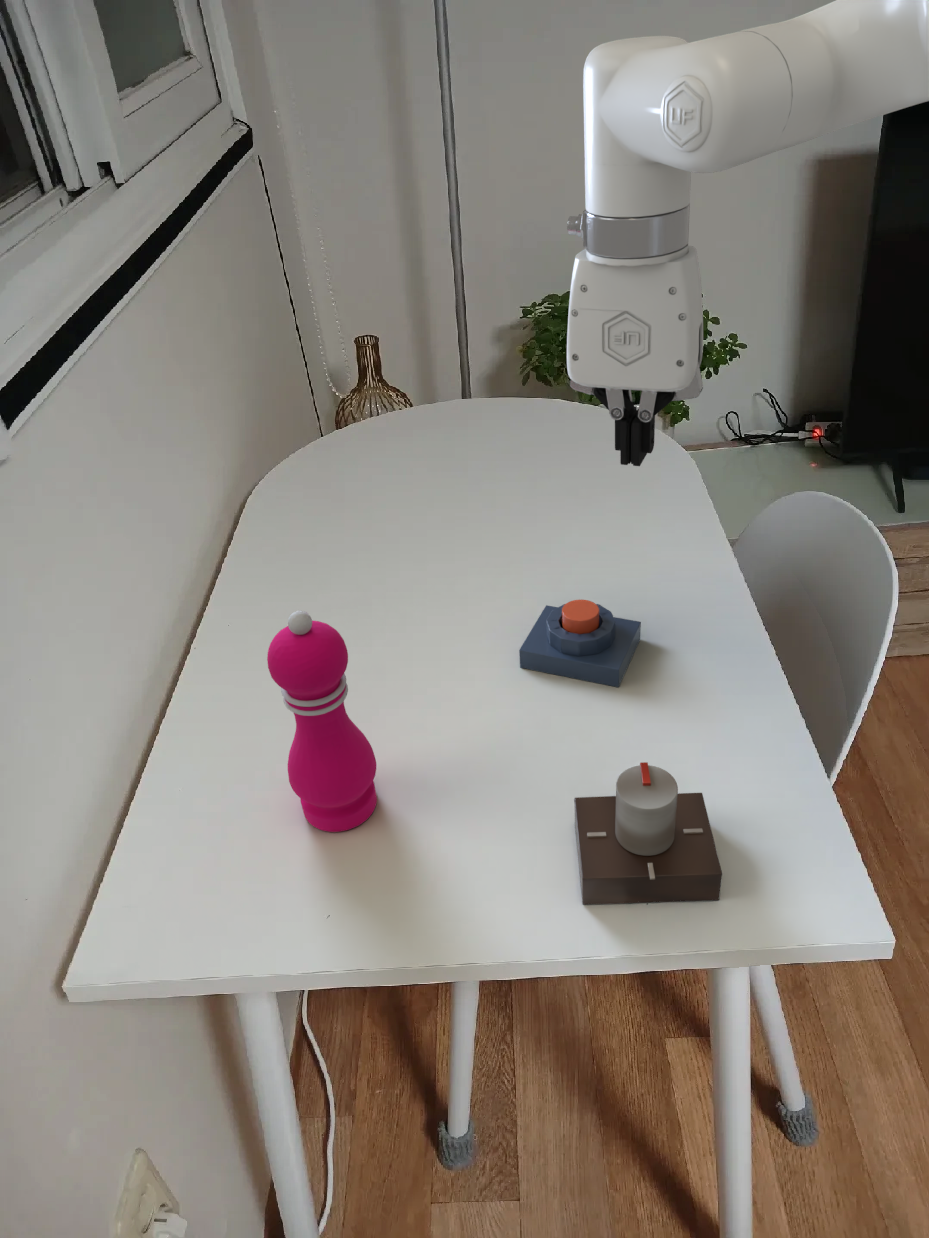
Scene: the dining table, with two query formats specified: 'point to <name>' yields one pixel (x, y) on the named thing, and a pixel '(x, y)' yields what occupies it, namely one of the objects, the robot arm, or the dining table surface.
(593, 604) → the button
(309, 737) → the pepper mill
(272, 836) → the dining table surface
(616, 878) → the dial panel
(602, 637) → the button box
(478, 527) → the dining table surface
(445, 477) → the dining table surface
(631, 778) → the dial knob
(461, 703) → the dining table surface
